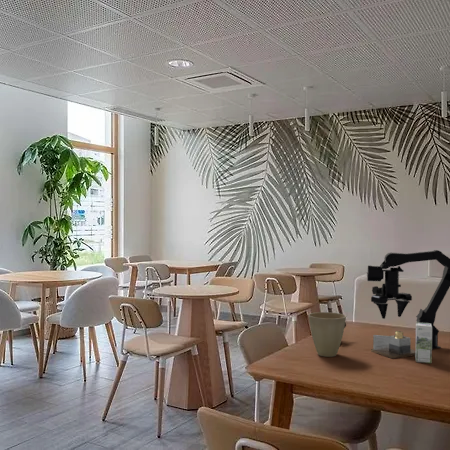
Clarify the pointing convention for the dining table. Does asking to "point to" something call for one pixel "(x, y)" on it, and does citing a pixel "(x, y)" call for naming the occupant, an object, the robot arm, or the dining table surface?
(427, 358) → the syrup box
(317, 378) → the dining table surface
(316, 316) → the plant pot
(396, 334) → the hinge pin
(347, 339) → the dining table surface
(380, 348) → the hinge
